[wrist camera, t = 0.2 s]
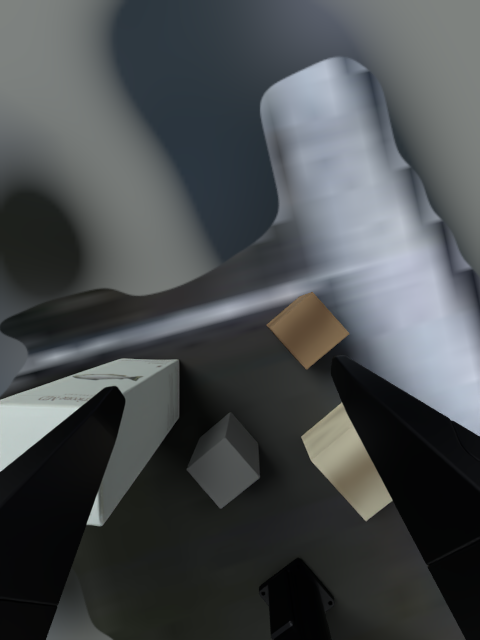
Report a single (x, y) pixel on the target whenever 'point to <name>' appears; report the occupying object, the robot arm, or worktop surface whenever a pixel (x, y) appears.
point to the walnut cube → (307, 329)
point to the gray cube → (225, 460)
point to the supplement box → (135, 429)
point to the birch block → (346, 462)
